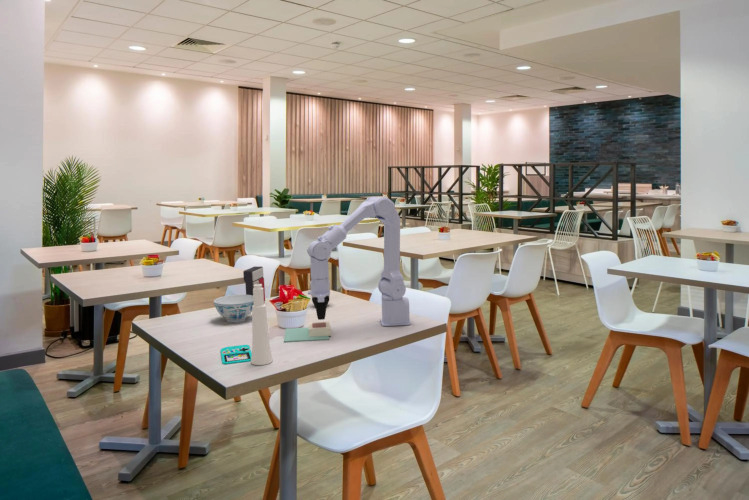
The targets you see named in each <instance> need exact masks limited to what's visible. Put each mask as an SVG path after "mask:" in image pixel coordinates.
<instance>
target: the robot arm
mask: <svg viewBox="0 0 749 500" xmlns="http://www.w3.org/2000/svg"><path fill="white" fill-rule="evenodd" d="M395 205H396V204H395V203H394V202H393V200H391V199H390V198H388V197H385V196H383V197H377V196H370V197H368V198H367V199H366V200H364V201H362V202H361V204H360V205H359V206H357V208H356V209H355V210H354V211H352V212H351V214H350V215H348V216H347V217H346V219H345V220H343V221H342V222H341V223H340V224H333V225H329V226H328V227H327V229H328V230H327V231H325V232H324V233H323V234H322V235H319V236H318V237H317V240H314V241H312V242H311V243H309V245H308V247H307V249H306V251H307V254H308V256H309V258H310V259H309V260H310V263H309V264H310V281H311V291H309V290H308V291H307V295H313V296H315V297H312V296H311V302H312V303H314V304H313V306H314V308H315V311H316V318H317V319H318V321H319V320H320V321H321V320H325V319H326V316H327V315H326V314H327V313H326V312H327V309H328V306H327V305H329V302H330V296H327V295H329V294H331V290H330V291H329V281H330V277H329V275H330V273H329V257H330V256H331V254H332V251H333V250H334V249H335V248H337V247H338V246H339V245H340V244H341V243H342V242H344V240H346V239H347V235H348V234H347V233H348V232H349V231H351V230H352V229H354V227H356V226H357V225H358V224H360V223H361V222H362V221H363V220H365V219H366V218H377V219H378V221H380V222H381V223H382V224H383V225H384V226H383V233H384V236H383V238H384V239H383V270H382V272H381V273H380V280H379V282H378V285H377V288H378V290H379V292H380V294H381V318H380V319H379V322H380V324H381V326H382V327H391V326H392V327H393V326H410V325H411V323H410V321H411V320H410V300H409V298H408V297H405V294H406V291H407V287H406V284H405V281H404V275H403V274H402V272H401V271H400V267H401V266H400V265H401V264H400V262H401V260H400V259H401V258H400V257H401V256H400V255H401V254H400V253H401V248H400V247H401V217H400V215H399V213H398V211H397V209H396V206H395Z"/></svg>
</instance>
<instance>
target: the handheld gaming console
mask: <svg viewBox="0 0 749 500" xmlns="http://www.w3.org/2000/svg"><path fill="white" fill-rule="evenodd" d="M246 355H247V357H248V358H242V359H241V357H246ZM220 356H221V362H222V364H223V365H225V366H226V365H233V364H242V363H249V362H250V363H251V357H252V350H251V348H250V344H241V345H240V344H239V345H232V346H231V345H230V346H226V347H222V348H221V349H220ZM226 356H227V357H226ZM239 357H240V359H239ZM230 358H231V359H233V360H228V359H230Z"/></svg>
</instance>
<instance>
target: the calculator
mask: <svg viewBox="0 0 749 500" xmlns="http://www.w3.org/2000/svg"><path fill="white" fill-rule="evenodd" d="M243 281H244V283H245V295H252V296H253V288H254V285H255V284H262V288H263V295H264V303H265V301H266V293H265V292H266V290H265V278H264V267H263V266H252V267H250V268H248V269H245V270H243Z"/></svg>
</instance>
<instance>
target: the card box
mask: <svg viewBox="0 0 749 500" xmlns="http://www.w3.org/2000/svg"><path fill="white" fill-rule="evenodd" d="M308 327H309V337H315V336H332V328H331V327H332V326H331V321H330V320H329V321H314V322H311V321H310V322H308Z"/></svg>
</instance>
